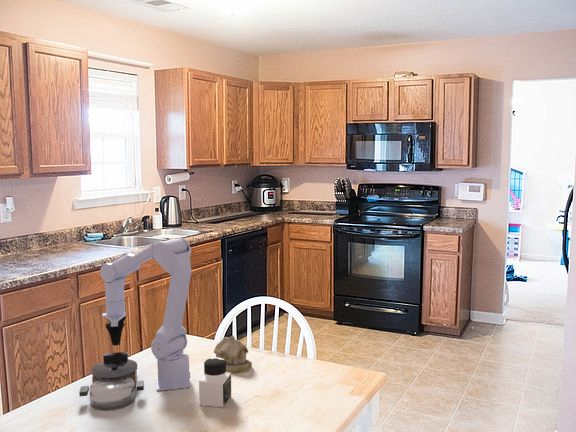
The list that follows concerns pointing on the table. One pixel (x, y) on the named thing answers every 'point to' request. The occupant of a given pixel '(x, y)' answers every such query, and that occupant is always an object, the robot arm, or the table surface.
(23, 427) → the table surface
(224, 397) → the medicine bottle
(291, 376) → the table surface
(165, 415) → the table surface
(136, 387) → the cooker
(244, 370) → the ceramic model
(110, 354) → the lid
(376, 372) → the table surface
